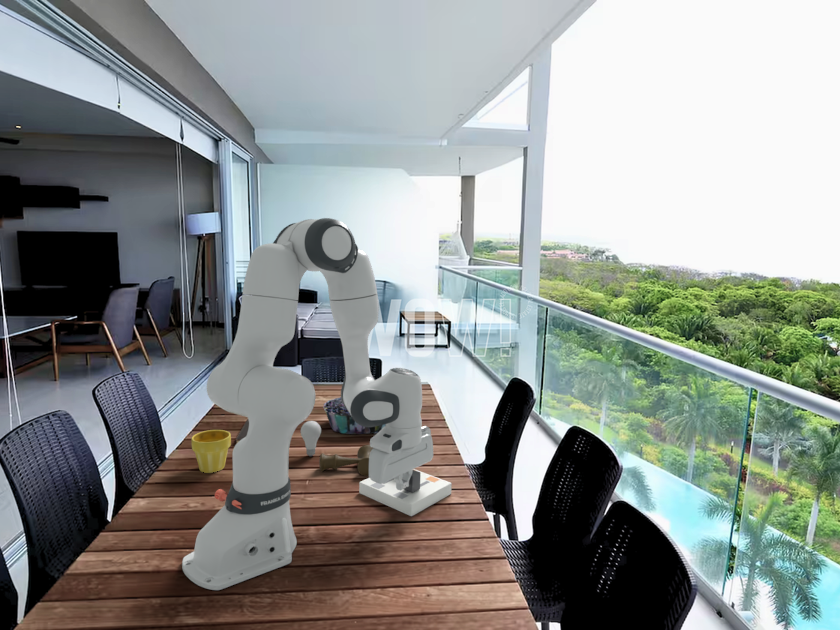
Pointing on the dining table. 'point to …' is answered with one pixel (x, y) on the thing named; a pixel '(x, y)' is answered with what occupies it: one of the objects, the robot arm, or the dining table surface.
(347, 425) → the decorative bowl
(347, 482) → the dining table surface
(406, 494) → the breaker panel
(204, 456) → the plant pot
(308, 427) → the lightbulb
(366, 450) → the kendama
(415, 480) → the block
